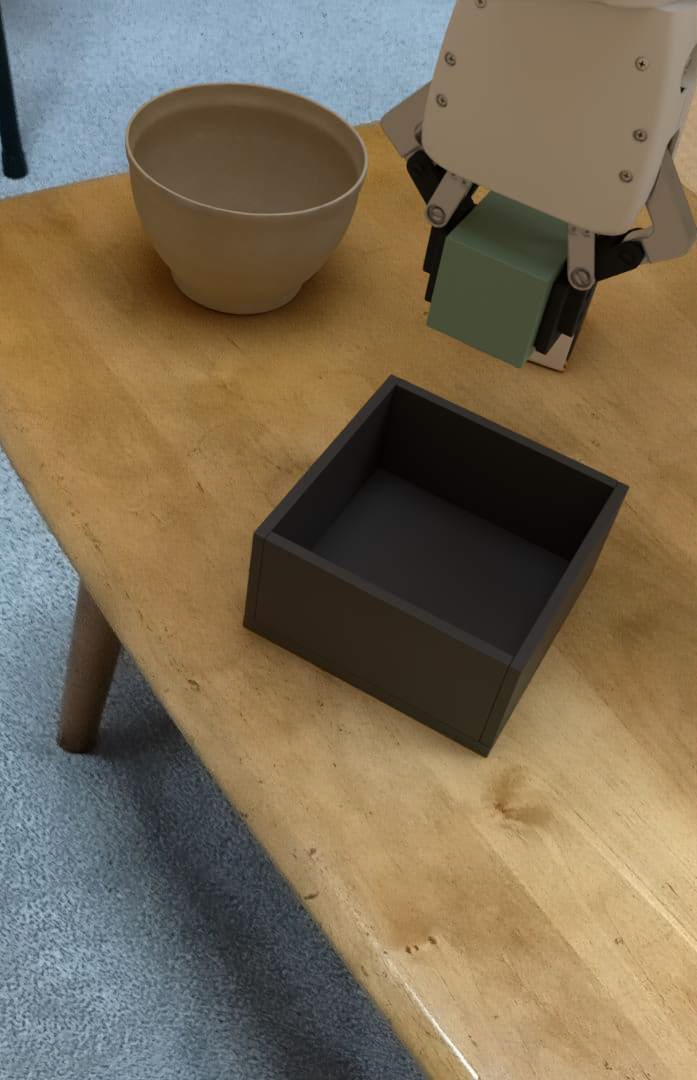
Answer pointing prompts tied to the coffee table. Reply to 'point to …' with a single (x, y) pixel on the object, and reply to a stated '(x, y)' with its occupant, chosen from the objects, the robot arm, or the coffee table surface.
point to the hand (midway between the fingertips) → (497, 310)
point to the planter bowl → (243, 189)
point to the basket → (430, 559)
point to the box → (498, 277)
